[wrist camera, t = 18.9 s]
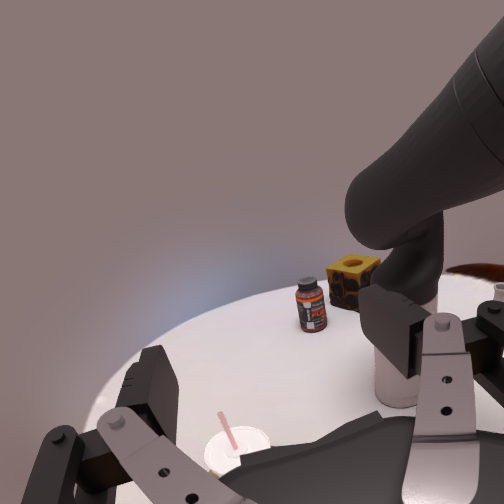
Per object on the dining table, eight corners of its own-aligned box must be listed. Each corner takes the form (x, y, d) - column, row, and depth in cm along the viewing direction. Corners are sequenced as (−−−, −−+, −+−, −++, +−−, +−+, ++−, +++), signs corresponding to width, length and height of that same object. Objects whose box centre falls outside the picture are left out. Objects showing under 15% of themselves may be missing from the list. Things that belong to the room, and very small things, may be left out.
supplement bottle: (317, 335, 64) (309, 287, 61) (296, 330, 68) (286, 284, 65) (332, 321, 67) (326, 275, 64) (312, 317, 72) (304, 273, 69)
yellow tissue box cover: (362, 314, 67) (358, 274, 64) (329, 305, 75) (323, 268, 73) (385, 295, 72) (382, 257, 70) (353, 288, 81) (348, 253, 78)
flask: (478, 343, 44) (484, 295, 41) (479, 322, 49) (483, 277, 46) (511, 344, 39) (520, 295, 36) (510, 323, 44) (516, 277, 42)
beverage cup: (233, 473, 29) (192, 392, 26) (286, 469, 29) (259, 385, 25) (227, 515, 24) (176, 441, 20) (285, 513, 23) (255, 438, 19)
